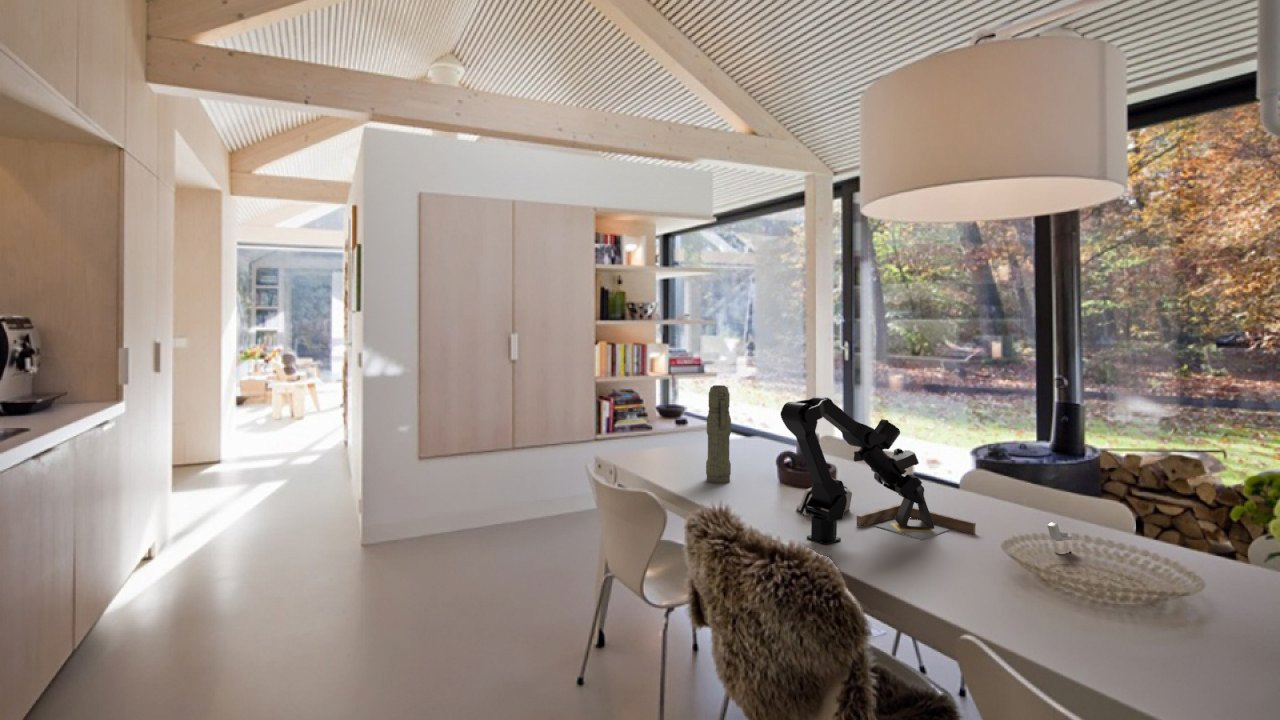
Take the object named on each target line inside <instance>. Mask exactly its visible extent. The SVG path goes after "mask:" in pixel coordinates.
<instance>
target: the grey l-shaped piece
mask: <svg viewBox="0 0 1280 720" xmlns="http://www.w3.org/2000/svg"><path fill="white" fill-rule="evenodd" d="M1047 529H1048V533H1049V536H1050V538H1051V540H1053V541H1055V540H1056V541H1063V540H1072V541H1073V536H1072V535H1070V534H1069V533H1068V531H1065V530H1062V531H1060V528H1059V525H1058V524H1057V523H1055V522H1050V523H1049V524H1047Z"/></svg>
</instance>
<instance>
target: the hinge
mask: <svg viewBox="0 0 1280 720" xmlns="http://www.w3.org/2000/svg"><path fill="white" fill-rule="evenodd" d="M811 489H812V486H811V487H809V488H807V489H806V490H805V491H804V494H803V496H802V499H801V502H800V504H799V505H797V506H796V510H795V511H796V512H802V515H803V514H804V516H810V515H809V514H806V511H805V505H806V504H807V502H808V501H809V499H810V498H811V496H812V493H811ZM844 489H845V491H846V492H847V494H845V495H846V498H847V503H846V507H845V510H846V511H850V507H851V503H852V497H853V492H852V491H851V489H849V488H848V487H847V486H846V485H844ZM821 510H824V511H827V512H829V510H827V509H823V508H821Z"/></svg>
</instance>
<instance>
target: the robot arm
mask: <svg viewBox="0 0 1280 720" xmlns="http://www.w3.org/2000/svg"><path fill="white" fill-rule="evenodd" d="M780 418H781V420H782V422H783V424H784V425H785V427H786V428H787V430H788V431H789V432H790V433H791V434H792V435H793V436H794V437H795V438H796V441H797V443H798V446H799V449H800V452H801V453H802V454H801V455H802V457H803V459H804V461H805V464H806V467H807V468H808V469H807V470H808V472H809V474H810V477H811V480H812V484H811V487H812V489H811V493H812V496H811V498H810V499H809V501H808V502H807V504H806V505H805V511H806V514H810V515H809V516H811V527H810V530H811V534H810V535H806V539H808V540H811V541H813V542H817V543H819V544H822V545H830V544H833V543H836V542H840V541H841V539H842V538H841V537H838V536H837V533H838V532H837V530H838V529H837V528H838V526H837V525H838V522H837V521H840V520H843V518H844V515H845V512H846V511H845V507H846V503H847V498H846V495H845V494H847V492H846V491H845V489H844V486H845V484H844V482H843V481H842V480H839V479H835V478H833V477H832V474H831V472H830V468H829V467H828V463H827V461H826V458H825V455H824V452H823V450H822V447H821V444H820V442H819V439H818V436H817V434H816V431H817V430H816V429H817V426H818V421H819V420H821V419H822V418H823V419H824V420H826V421H827V422H829V424H831V425H832V426H833V427H835V428H836V429H838V431H840V432H841V434H842V437H843V439H844V440H845V441H846V442H847V444H848V445H850V446H852V447H858V448H859V449H858V450H857V451H854V452H853V462H863V461H864V463H865V464H867V465H868V467H869V468H870V470H871V471H872V472H873V478H874V480H875V481H876V482H878V483H879V484H880V485H882V486H884V488H886V489H888V490H891V491H892V492H895V493H897V494H898V496H900V497H902V498H906V499H908V500H910V501H912V502H914V504H917V505H918V504H919V505H922V504H923V503H924V502H923V500H922V498H921V496H920V495H919V493H918V491H917V488H918V487H919V486H920V485H922V483H923V482H922V480H920V478H919V477H918V476H916V475H913V474H912V473H911V474H906V475H905V473H907V470H906V469H909V468H911V467H912V466H917V465H919V463H920V461H919V460H918V458H917V455H916V453H915V452H914V451H912V450H906V449H905V450H903V449H901V448H899V447H898V448H895V449H893V455H892V456H891V457H890V456H889V455H888V454H887V453H886V452H885V451H884V450H890V448H891V447H892V446H893V445H894V443H895V442H896V440H897V439H898V438H899V436H900V435H901V430H900V428H899V427H897V426H896V425H895V424H893V423H892V422H890V421H889V420H888V419H884V418H881V419H880V421H879V422H878V424H877V426H875V428H874V427H871V426H869V425H867V424H864V423H862V422H859V421H856V420H855V419H853V418H852V417H851V416H850V415H849V414H847V413H846V412H845V410H843V409H841V408H840V407H839V406H838V405H836V404H835V403H834V402H833V400H832V399H830V398H829V397H826V396H817V395H816V396H813V397H811V398H808V399H807V398H806V399H802V400H798V401H787V402H786V403H785V404H784V405H783V406H782V408H781V411H780ZM821 508H823V509H827V510H829V512H827V511H824V510H821Z"/></svg>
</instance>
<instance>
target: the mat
mask: <svg viewBox="0 0 1280 720" xmlns="http://www.w3.org/2000/svg"><path fill="white" fill-rule="evenodd" d="M909 520H913V518H909ZM933 525H934V529H927V528H917V527H916V528H911V527H900V525H899V524H898V523H897V522H896V520H895V519H892V520H889V521H884V522H882V523H877V524H875V525H874V527H875V528H879V529H882V530H884V531H885V530H886V531H889V532H893V533H895V534H898V535H903V536H905V535H906V537H909V536H910V537H909V538H912V537H913V539H917V540H919V541H924V540H926V539H929V538H932V537H935V536H938V535H940V534H944V533H946V532H949V531H951V529H950V528H947V527H943V526H939V525H935V524H933Z"/></svg>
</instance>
